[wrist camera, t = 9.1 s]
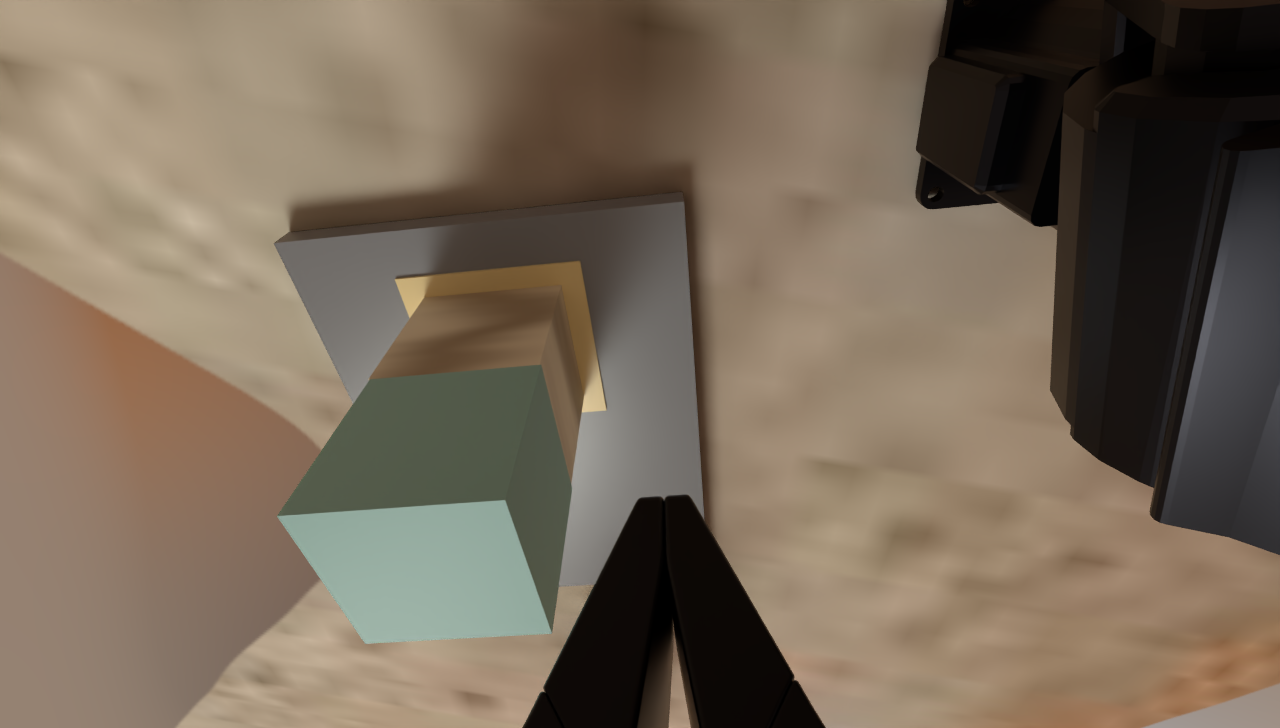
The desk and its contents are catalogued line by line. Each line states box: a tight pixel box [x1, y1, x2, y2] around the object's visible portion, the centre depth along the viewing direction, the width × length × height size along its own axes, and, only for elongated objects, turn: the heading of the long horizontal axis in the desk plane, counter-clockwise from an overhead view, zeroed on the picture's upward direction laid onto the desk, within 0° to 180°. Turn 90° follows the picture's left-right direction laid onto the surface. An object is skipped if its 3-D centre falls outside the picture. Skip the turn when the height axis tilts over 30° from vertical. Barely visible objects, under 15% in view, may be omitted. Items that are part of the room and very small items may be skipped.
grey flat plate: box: [274, 192, 704, 587], centre depth 25 cm, size 14×20×1 cm
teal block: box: [277, 365, 572, 644], centre depth 16 cm, size 5×5×5 cm
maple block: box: [368, 285, 584, 483], centre depth 20 cm, size 5×5×5 cm
